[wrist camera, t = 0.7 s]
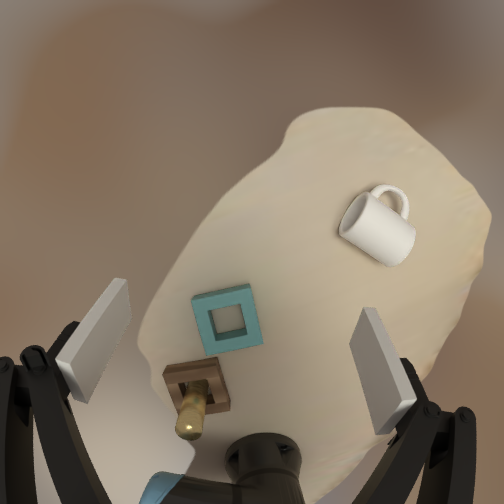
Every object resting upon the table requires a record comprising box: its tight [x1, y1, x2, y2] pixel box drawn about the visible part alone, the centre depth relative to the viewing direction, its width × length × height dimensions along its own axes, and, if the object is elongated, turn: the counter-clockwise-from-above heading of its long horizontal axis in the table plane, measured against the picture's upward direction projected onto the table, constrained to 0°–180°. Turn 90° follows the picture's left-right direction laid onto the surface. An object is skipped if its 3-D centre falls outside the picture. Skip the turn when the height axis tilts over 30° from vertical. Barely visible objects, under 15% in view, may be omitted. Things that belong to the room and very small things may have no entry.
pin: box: [175, 379, 209, 441], centre depth 40 cm, size 4×4×14 cm
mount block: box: [162, 357, 230, 416], centre depth 46 cm, size 9×9×4 cm
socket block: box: [191, 284, 264, 356], centre depth 45 cm, size 9×9×4 cm
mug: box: [339, 184, 416, 267], centre depth 43 cm, size 12×10×8 cm
